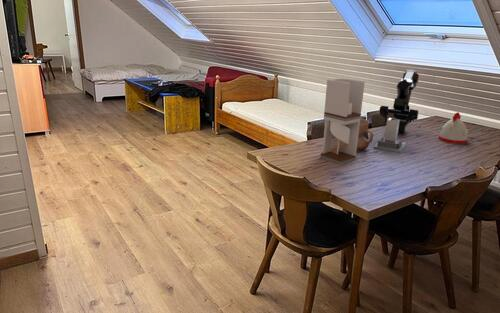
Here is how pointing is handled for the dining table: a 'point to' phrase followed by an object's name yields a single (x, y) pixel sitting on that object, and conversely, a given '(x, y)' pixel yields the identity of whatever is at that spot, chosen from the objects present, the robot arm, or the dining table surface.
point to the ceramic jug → (362, 141)
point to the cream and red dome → (454, 131)
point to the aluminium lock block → (391, 130)
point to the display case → (342, 119)
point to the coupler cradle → (390, 145)
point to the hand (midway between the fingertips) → (394, 126)
